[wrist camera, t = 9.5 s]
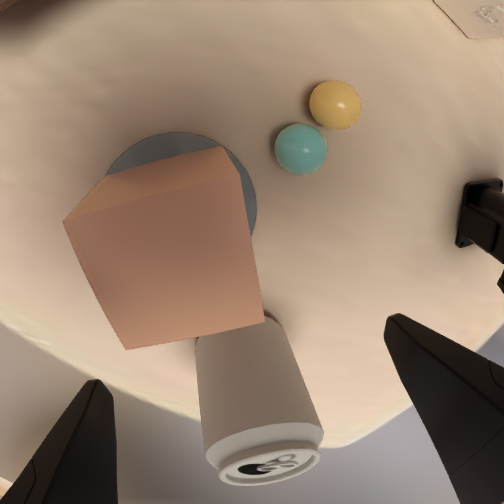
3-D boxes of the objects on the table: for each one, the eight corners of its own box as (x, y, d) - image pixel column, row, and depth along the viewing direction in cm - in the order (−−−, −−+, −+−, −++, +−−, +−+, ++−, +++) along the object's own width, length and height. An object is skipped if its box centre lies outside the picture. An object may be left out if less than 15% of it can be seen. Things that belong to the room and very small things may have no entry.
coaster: (242, 116, 16) (243, 117, 16) (264, 262, 21) (266, 265, 21) (80, 158, 15) (78, 159, 15) (128, 292, 20) (128, 296, 20)
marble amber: (343, 80, 16) (368, 79, 13) (348, 125, 17) (372, 131, 15) (299, 82, 16) (318, 80, 13) (304, 129, 17) (324, 135, 15)
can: (175, 337, 23) (181, 478, 13) (252, 289, 22) (300, 436, 12) (230, 378, 27) (253, 495, 17) (298, 340, 26) (347, 458, 16)
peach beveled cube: (221, 145, 16) (239, 174, 10) (241, 250, 20) (265, 321, 14) (106, 175, 16) (62, 221, 10) (140, 273, 19) (125, 350, 13)
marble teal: (313, 118, 17) (334, 123, 14) (317, 164, 18) (337, 176, 16) (265, 124, 17) (279, 129, 14) (272, 172, 18) (286, 185, 16)
